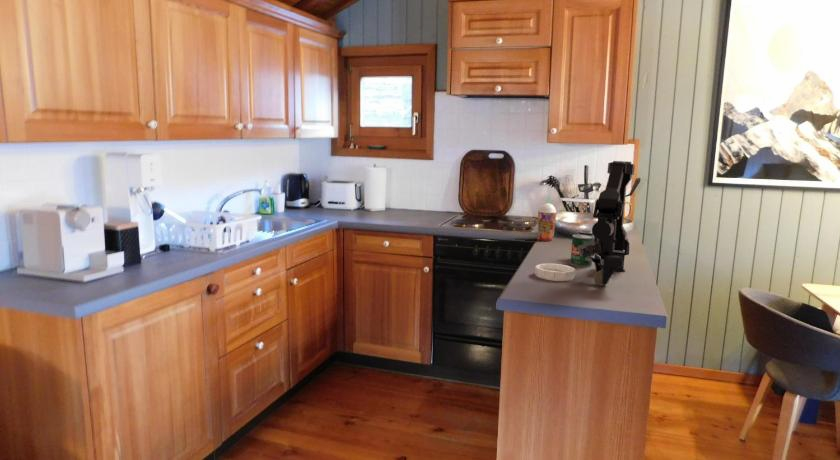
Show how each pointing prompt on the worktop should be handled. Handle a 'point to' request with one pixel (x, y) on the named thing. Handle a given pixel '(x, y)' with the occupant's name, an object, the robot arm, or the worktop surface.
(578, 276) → the worktop surface
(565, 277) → the ceramic dish
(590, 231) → the beverage can
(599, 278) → the lime
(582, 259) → the canned tomato
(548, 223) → the smoothie
